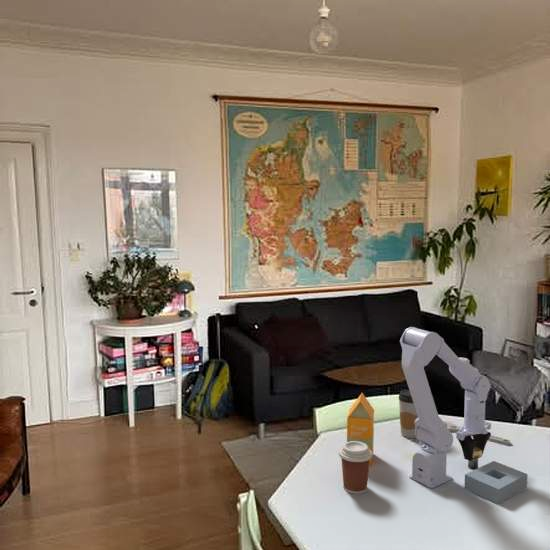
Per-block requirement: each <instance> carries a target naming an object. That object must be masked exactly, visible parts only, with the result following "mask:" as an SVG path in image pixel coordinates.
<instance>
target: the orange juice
mask: <svg viewBox="0 0 550 550" xmlns="http://www.w3.org/2000/svg"><path fill="white" fill-rule="evenodd" d="M374 414H375V409H374V408H373V406H372V405H371V403H370V401H369V400H368V399H367V398H366V396H365V394H364V393H363V392H361V394H360V395H359V396H358V398H356V400H355V401H354V403H352V405H351V407H350V408H349V410H348V414H347V417H346V442H350V441H358V442H362V443H365V444H366V445H367V446H368V448H369V450H371V452H372V458H371V459H370V461H369V467H372V466H373V460H374V459H373V458H374V438H375V435H374V433H375V427H374V426H375V425H374V424H375V420H374V419H375V417H374Z"/></svg>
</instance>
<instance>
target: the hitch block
mask: <svg viewBox="0 0 550 550" xmlns="http://www.w3.org/2000/svg"><path fill="white" fill-rule="evenodd" d="M463 488H464V489H465V490H466V491H469V492H471V493H473V494H475V495H478V496H479V497H482V498H484V499H485V500H488V501H490V502H493V503H494V504H498V505H499V504H501V503H504V501H506V500H508V499H510V498H511V497H513V496H515V495H518V494H519V493H521V492H522V491H524V490H526V489H527V488H528V473H525V472H523V471H520V470H518V469H515V468H513V467H511V466H507V465H506V464H502V463H500V462H498V461H495V460H493V461H491V462H488V463H486V464H484V465H482V466H480V467H478V469H475V470H474V469H472V470H471V471H469V472H467V473H465V474H464V487H463Z"/></svg>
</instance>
